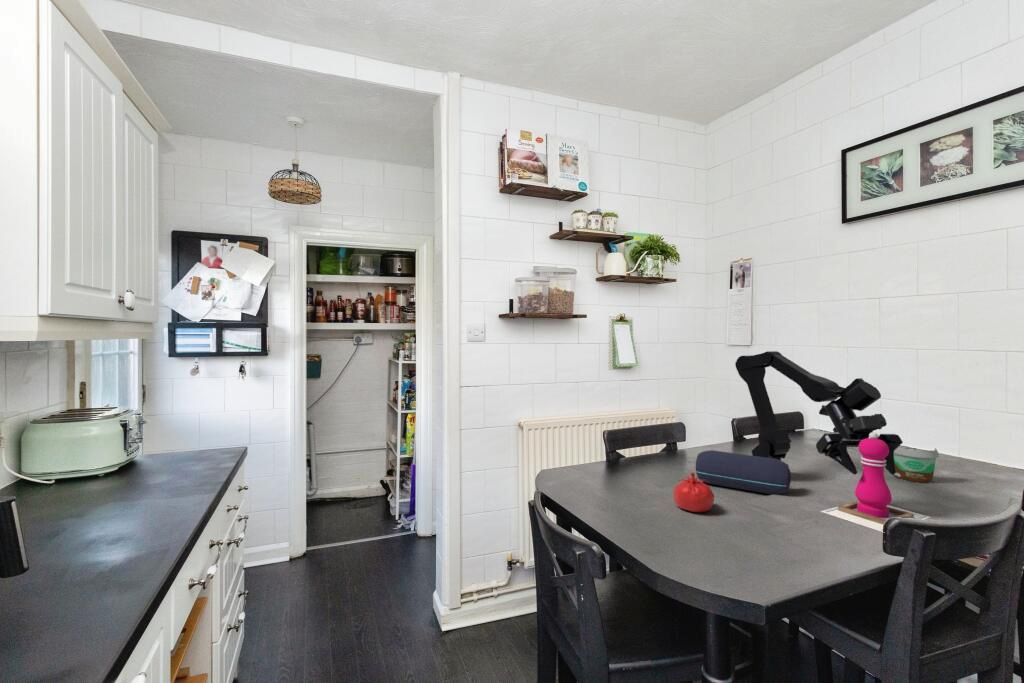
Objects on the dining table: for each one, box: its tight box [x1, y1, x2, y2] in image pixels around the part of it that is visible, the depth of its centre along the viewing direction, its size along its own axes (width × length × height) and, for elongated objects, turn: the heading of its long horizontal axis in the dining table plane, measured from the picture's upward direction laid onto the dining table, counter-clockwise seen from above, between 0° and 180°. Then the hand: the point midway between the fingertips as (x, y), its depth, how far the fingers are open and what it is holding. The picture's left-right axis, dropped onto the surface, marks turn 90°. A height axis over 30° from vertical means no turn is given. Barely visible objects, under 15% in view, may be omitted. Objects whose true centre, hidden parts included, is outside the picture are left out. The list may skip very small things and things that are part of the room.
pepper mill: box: [854, 431, 893, 518], centre depth 117 cm, size 7×7×20 cm
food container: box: [893, 446, 940, 484], centre depth 146 cm, size 12×6×10 cm, turn 68°
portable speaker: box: [695, 449, 792, 495], centre depth 140 cm, size 25×10×10 cm, turn 54°
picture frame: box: [820, 504, 932, 533], centre depth 117 cm, size 20×14×1 cm
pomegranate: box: [672, 471, 715, 513], centre depth 123 cm, size 10×10×9 cm
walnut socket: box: [837, 500, 914, 525], centre depth 117 cm, size 11×11×1 cm
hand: (874, 473), depth 117 cm, fingers open, 9 cm apart
